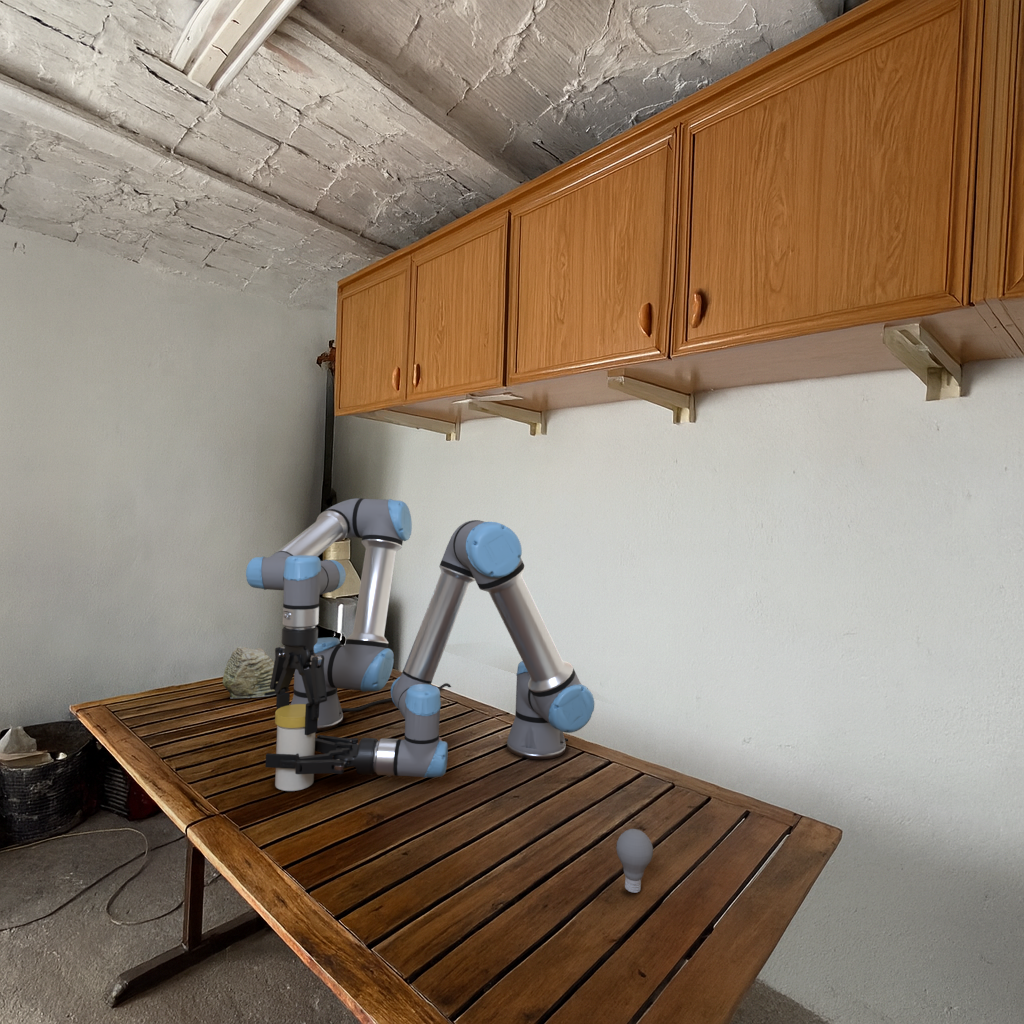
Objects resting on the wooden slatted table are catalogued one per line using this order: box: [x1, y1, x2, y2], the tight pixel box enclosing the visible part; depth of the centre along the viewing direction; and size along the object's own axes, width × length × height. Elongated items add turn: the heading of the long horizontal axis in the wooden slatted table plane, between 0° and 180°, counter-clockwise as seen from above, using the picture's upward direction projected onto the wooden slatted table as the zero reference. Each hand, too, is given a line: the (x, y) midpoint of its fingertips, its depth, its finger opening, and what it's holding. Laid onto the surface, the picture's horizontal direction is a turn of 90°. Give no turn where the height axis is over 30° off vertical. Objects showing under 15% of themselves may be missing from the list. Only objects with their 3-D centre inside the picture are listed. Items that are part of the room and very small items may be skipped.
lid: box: [274, 704, 306, 728], centre depth 139 cm, size 9×9×2 cm
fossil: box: [222, 646, 278, 699], centre depth 198 cm, size 9×18×15 cm, turn 132°
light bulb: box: [615, 828, 654, 894], centre depth 106 cm, size 6×6×10 cm
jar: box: [274, 725, 317, 792], centre depth 140 cm, size 8×8×15 cm
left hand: (296, 727), depth 139 cm, fingers closed on lid, 9 cm apart
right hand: (274, 752), depth 140 cm, fingers closed on jar, 8 cm apart
